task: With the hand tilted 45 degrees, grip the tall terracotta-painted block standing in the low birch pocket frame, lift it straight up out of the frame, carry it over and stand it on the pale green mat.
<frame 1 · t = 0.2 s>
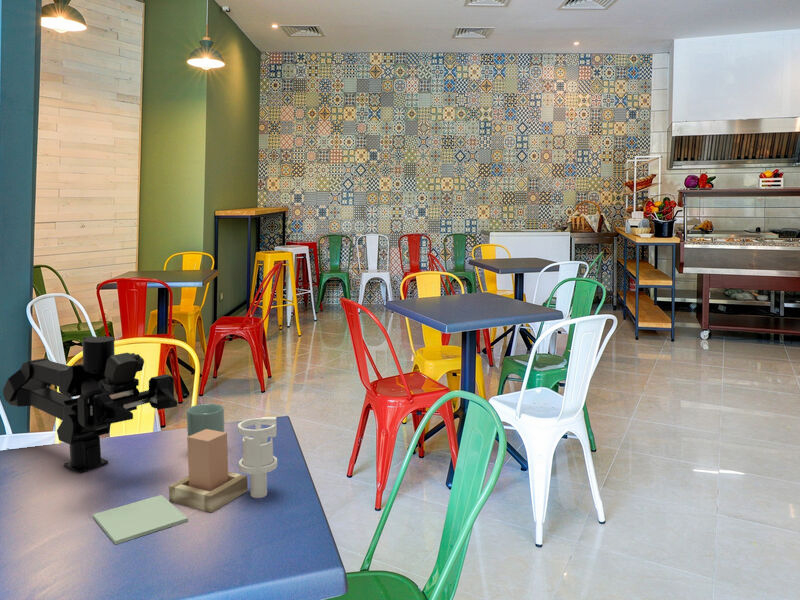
hand: (155, 410, 116), 17 cm above the table, tool horizontal, fingers open, 9 cm apart
mat: (140, 519, 109), on the table
cup: (206, 452, 141), on the table
block: (209, 496, 119), resting in pocket frame
white flanged cylinder housing: (258, 495, 119), on the table
pocket frame: (209, 495, 119), on the table
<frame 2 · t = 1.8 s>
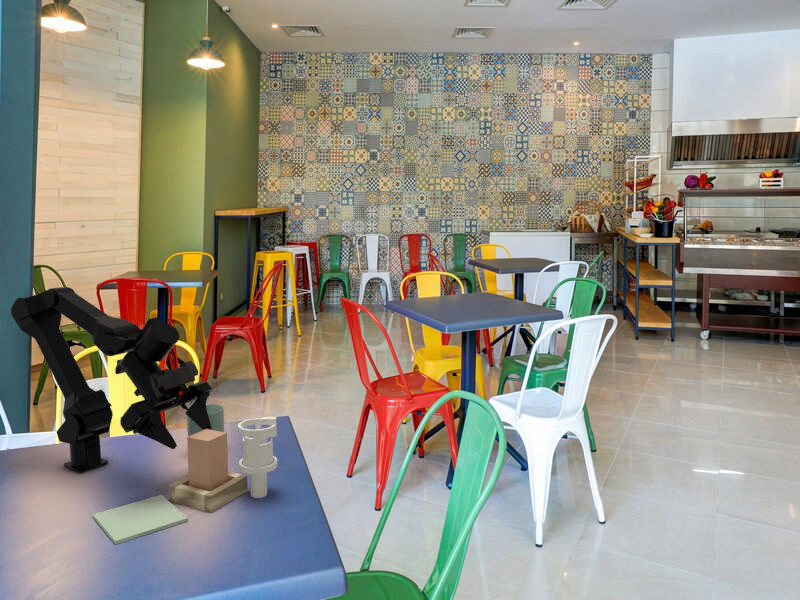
hand: (193, 439, 119), 10 cm above the table, tool tilted 45°, fingers open, 9 cm apart
nothing on the table moved.
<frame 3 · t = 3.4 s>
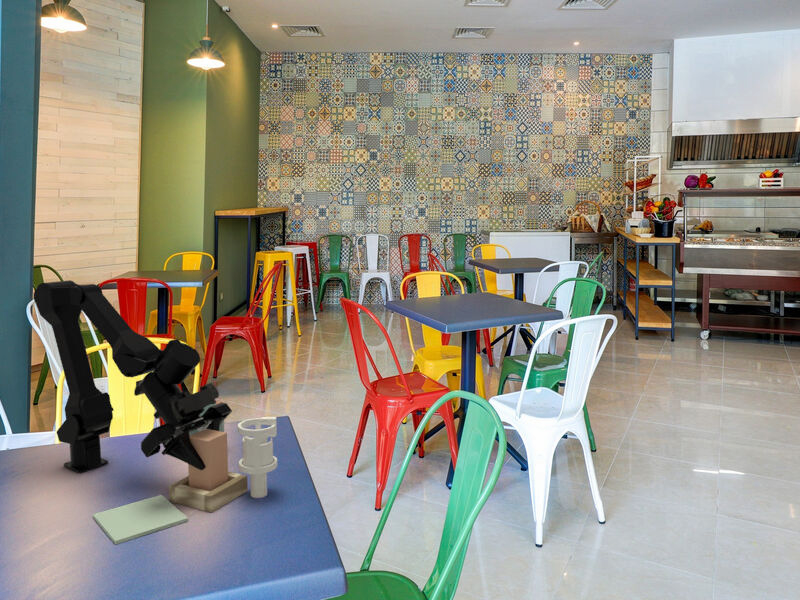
hand: (213, 463, 117), 7 cm above the table, tool tilted 45°, fingers closed on block, 5 cm apart
block: (209, 496, 119), resting in pocket frame, touching gripper
everything else where it was.
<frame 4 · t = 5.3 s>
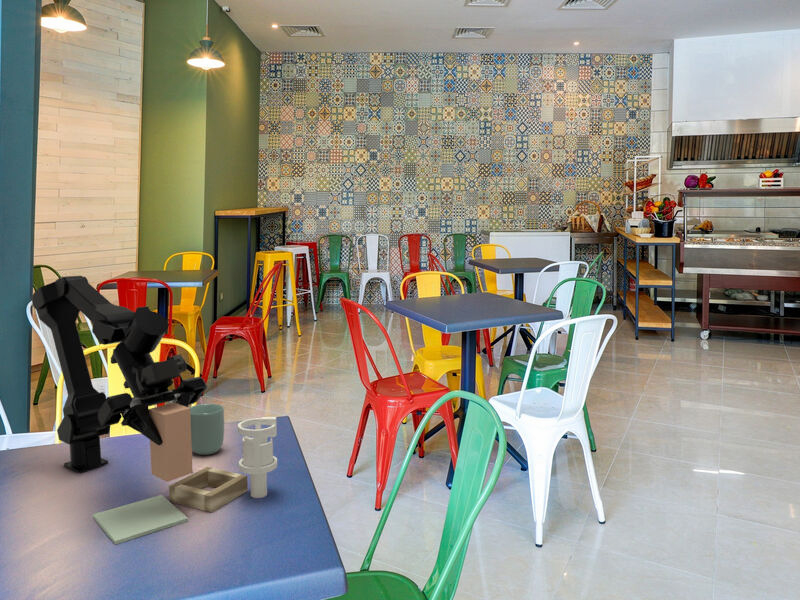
hand: (174, 439, 110), 13 cm above the table, tool tilted 45°, fingers closed on block, 5 cm apart
block: (172, 473, 112), point 7 cm above the table, touching gripper
everything else where it was.
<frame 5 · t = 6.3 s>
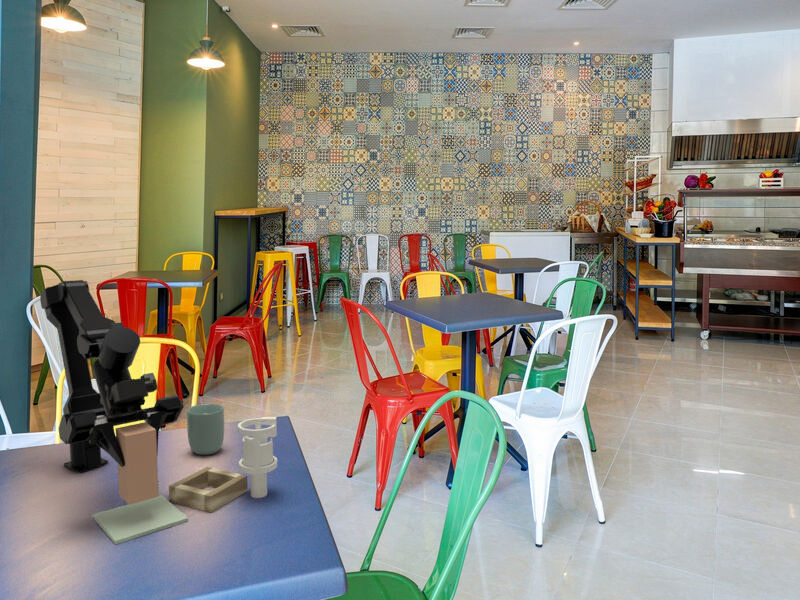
hand: (139, 461, 107), 11 cm above the table, tool tilted 45°, fingers closed on block, 5 cm apart
block: (138, 495, 109), point 4 cm above the table, touching gripper
everything else where it was.
when the fingers open (8 cm above the table, at t = 7.2 s): block stays where it is, resting on mat.
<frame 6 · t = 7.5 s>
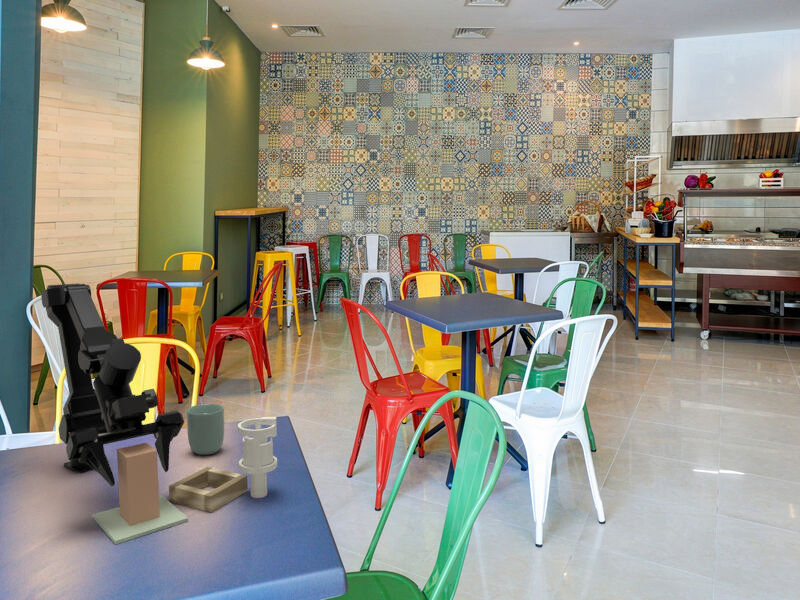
hand: (140, 477, 107), 8 cm above the table, tool tilted 45°, fingers open, 9 cm apart
block: (140, 516, 109), point 1 cm above the table, touching mat
everything else where it was.
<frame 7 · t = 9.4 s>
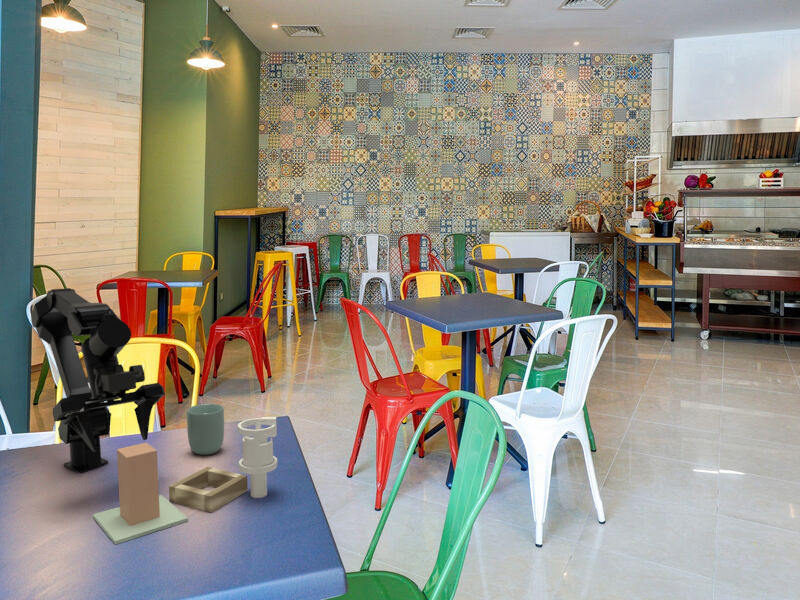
hand: (120, 445, 116), 10 cm above the table, tool tilted 30°, fingers open, 9 cm apart
nothing on the table moved.
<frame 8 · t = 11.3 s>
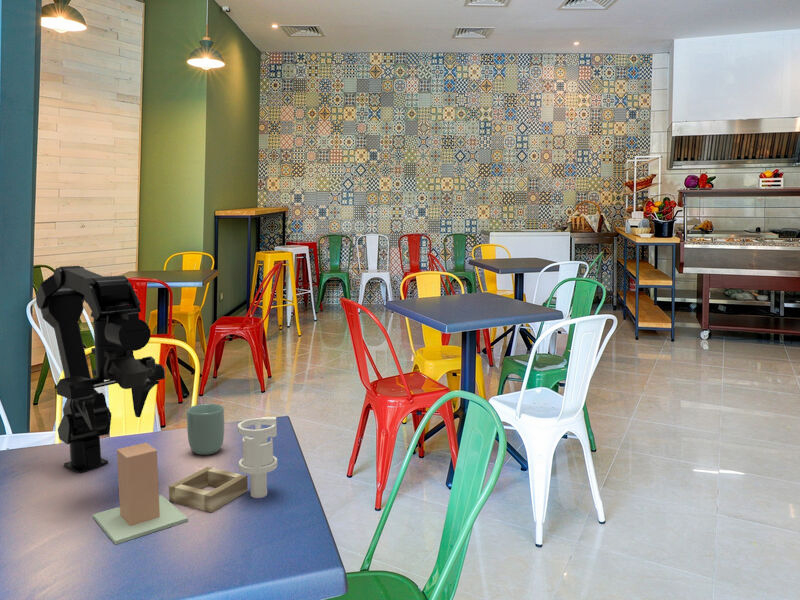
hand: (115, 423, 120), 13 cm above the table, tool pointing down, fingers open, 9 cm apart
nothing on the table moved.
at the end: block 0.0 cm from the mat (horizontally); block tilted 0°; block point 0.6 cm above the table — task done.
